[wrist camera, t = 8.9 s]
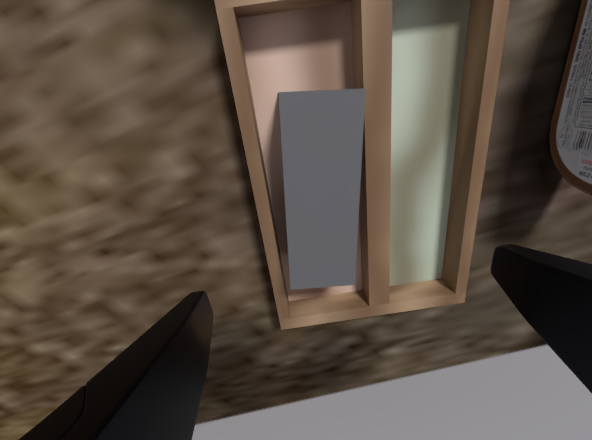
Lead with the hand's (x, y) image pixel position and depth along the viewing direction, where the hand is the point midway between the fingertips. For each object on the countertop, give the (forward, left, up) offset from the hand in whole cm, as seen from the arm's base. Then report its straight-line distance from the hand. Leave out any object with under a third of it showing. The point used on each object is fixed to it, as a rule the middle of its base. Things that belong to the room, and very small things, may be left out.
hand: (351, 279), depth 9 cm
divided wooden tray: (-3, 0, -11) cm, 12 cm away
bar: (0, 0, -11) cm, 11 cm away
